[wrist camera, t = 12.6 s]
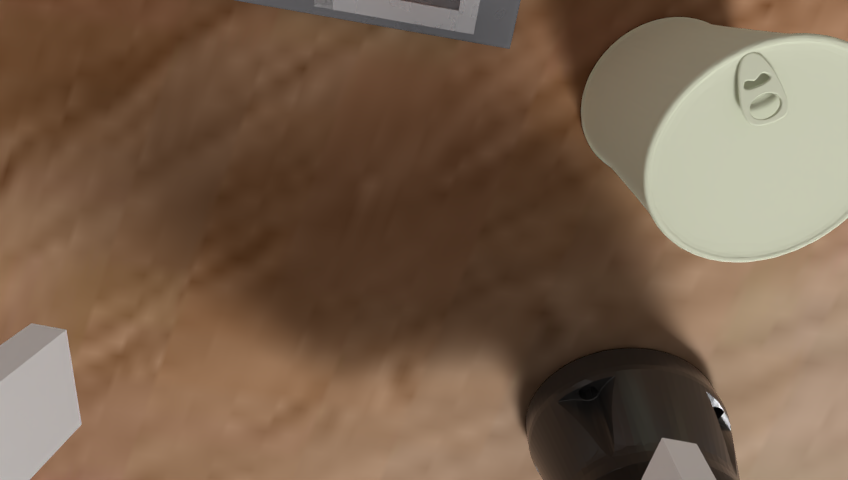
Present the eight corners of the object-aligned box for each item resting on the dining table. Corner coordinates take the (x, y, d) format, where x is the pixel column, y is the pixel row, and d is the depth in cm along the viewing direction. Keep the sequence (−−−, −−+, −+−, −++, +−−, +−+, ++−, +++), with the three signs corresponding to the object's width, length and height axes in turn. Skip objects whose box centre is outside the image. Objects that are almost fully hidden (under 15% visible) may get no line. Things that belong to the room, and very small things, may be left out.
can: (727, -15, 27) (906, -18, 16) (755, 140, 30) (918, 223, 19) (559, 61, 29) (618, 101, 18) (604, 197, 32) (675, 298, 22)
